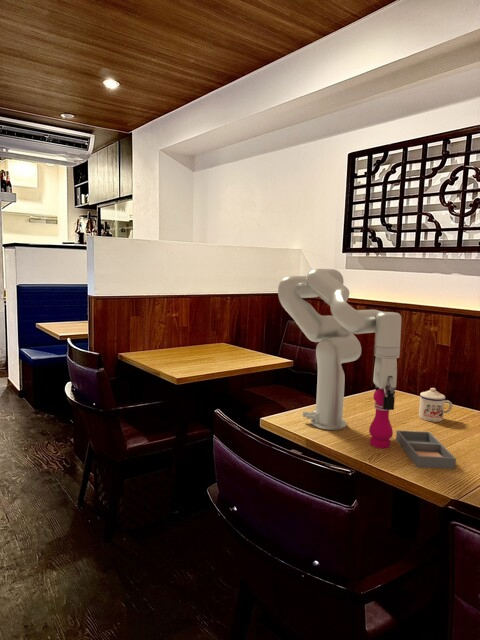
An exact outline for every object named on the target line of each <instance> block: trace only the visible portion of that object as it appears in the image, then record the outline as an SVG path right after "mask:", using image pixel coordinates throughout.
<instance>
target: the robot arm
mask: <svg viewBox="0 0 480 640" xmlns="http://www.w3.org/2000/svg"><path fill="white" fill-rule="evenodd" d="M277 295H278V300H279V303H280V305H281V307H282V308H283V309H284V310H285V312H287V313H288V315H289V316H290V317H291V318H292V319H293V321H294V322H295V323H296V325H297V326H298V328H299V329H300V330H301V331H302V333H303V334H304V335H305V337H306V339H308V340H309V341H311V342H314V343H318V344H317V345H316V348H315V357H316V363H317V377H316V378H317V381H316V382H317V384H316V400H315V401H316V402H315V408H314V409H313V410H312V411H302V417H303V418H306V419H308V420H309V419H310V424H311V425H312V426H314V427H315V428H318V429H321V430H327V431H338V430H343V429H346V428H347V423H348V422H347V421H346V420H345V419H343V413H344V399H345V398H344V397H345V372H344V369H343V366H342V364H346V363H351V362H354V361H357V360H359V358H360V357H361V355H362V346H361V342H360V340H359V339H358V338H357V336H355V335H361V334H371V333H375V334H374V335H375V336H374V350H373V351H374V353H373V356H374V357H375V359H374V366H373V367H374V368H373V369H374V370H373V379H372V382H373V384H374V385H375V391H376V390H378V389H382V388H384V394H385V396H384V399H383V409H384V410H389V411H394V409H395V399H396V394H395V393H396V391H395V390H396V388H397V382H398V381H397V379H398V378H397V376H398V368H397V367H398V363H397V362H398V361H397V359H399V358H400V353H401V352H400V351H401V334H402V332H401V331H402V316H401V314H400V313H399V312H394V311H382V310H378V309H359V310H357V309H355V308H354V307H353V306H351V305H350V304H349V303H348V302H347V301H348V299H349V298H350V289H349V288H348V287H347V286H346V285H344V276H343V275H342V273H341V272H340V271H339V270H337V269H335V268H334V269H333V268H316V269H312V270H311V271H310V272H308V274H307V275H290V276H286V277H284V278H283V279H281V281H280V282H279V284H278V287H277ZM308 298H309V299H311V298H320V299H321V300H322V301H324V302H325V303H326V304H327V305H328V306H329V307H330V312H331V315H329V314H328V315H322V314H320V313H318V312H317V310H316V309H315V308H314V307H313V305H312V304H311V303H309V302H308V301H306V300H304V299H308ZM387 390H388V392H387Z"/></svg>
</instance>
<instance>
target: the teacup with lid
mask: <svg viewBox="0 0 480 640" xmlns="http://www.w3.org/2000/svg"><path fill="white" fill-rule="evenodd" d="M445 403H447V404H449V407H448V409H447V410H445ZM452 409H453V403H452V402H451V401H450V400H448V399H447V400H446V396H445V395H444V394H442V393H440V392H439V391H437V389H436V388H435V387H430V389H429V390H426V391H422V392H420V394H419V408H418V417H419V418H420V419H422V420H424V421H427V422H431V423H432V422H433V423H434V422H435V423H436V422H437V423H438V422H442V421H443V420H444V414H448V413H450V411H451V412H452Z"/></svg>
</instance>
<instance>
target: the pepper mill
mask: <svg viewBox="0 0 480 640" xmlns="http://www.w3.org/2000/svg"><path fill="white" fill-rule="evenodd" d="M387 392H388V390H387ZM384 396H385V394H384V388H382V389H378V390H376V389H375V391H374V393H373V400H374V408H375V415H374V419H373V420H372V422H371V423H370V426H369V430H368V433H369V435H370V436H371V437H370V438H369V444H370V446H372V447H374V448H377V449H383V450H384V449H389V448H390V447H391V440H390V439H391V438H392V436H393V427H392V424H391V421H390V419H389V417H390V416H389V415H390V414H389V413H390V410H384V409H383V399H384Z"/></svg>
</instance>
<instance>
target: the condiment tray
mask: <svg viewBox="0 0 480 640" xmlns="http://www.w3.org/2000/svg"><path fill="white" fill-rule="evenodd" d="M395 434H396V435H395V440H396V441H397V443H398V444H399V445H400V447H401V448H402V449H403V451H404V452H405V453H406V454H407V456H408V457H409V459H411V460H410V461H412V462H413V464H414V465H415V466H416V467H417V468H425V469H426V468H428V469H430V468H431V469H450V470H453V469H454V470H455V469H456V463H457V458H456V457H455V456H454V455H453V454H452V453H451V452H450V451H449V450H448V449H447V448H446V447H445V446H444V445H443V443H441V442H440V441H439V440H438V439H437V438H436V437H435V436H434V435H433V434H432V432H431V431H420V430H419V431H418V430H416V431H415V430H414V431H413V430H399V429H398V430H396V433H395Z"/></svg>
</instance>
